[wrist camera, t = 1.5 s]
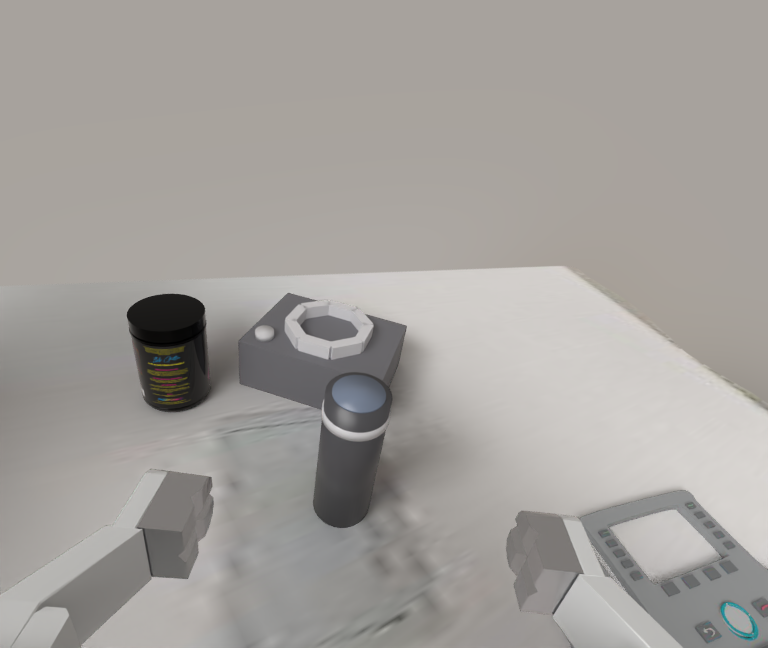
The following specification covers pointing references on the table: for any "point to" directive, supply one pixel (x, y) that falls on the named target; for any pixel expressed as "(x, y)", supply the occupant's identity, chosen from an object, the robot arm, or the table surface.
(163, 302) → the supplement container
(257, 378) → the camera body
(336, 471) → the lens
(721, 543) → the office telephone
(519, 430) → the table surface
